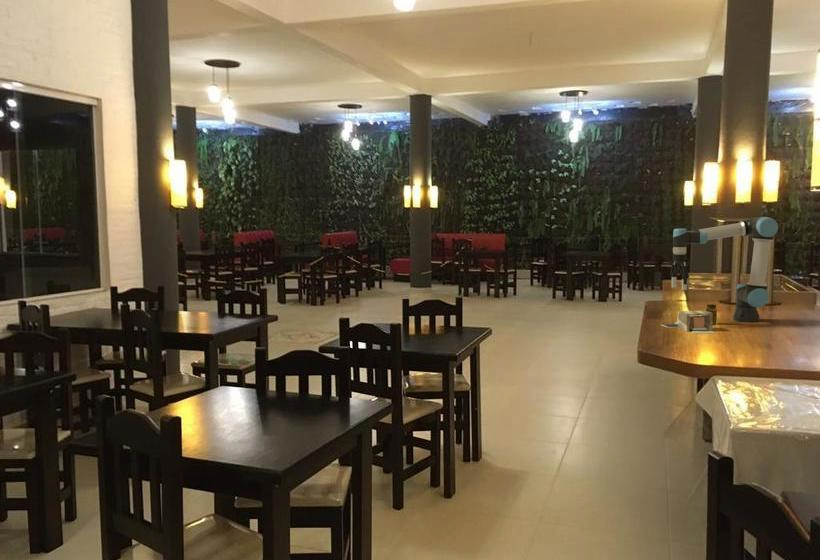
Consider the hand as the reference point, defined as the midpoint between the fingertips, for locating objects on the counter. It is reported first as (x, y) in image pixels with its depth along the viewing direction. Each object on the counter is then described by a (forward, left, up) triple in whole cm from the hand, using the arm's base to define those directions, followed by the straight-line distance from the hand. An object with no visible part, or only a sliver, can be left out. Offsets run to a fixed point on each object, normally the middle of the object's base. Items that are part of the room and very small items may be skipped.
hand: (679, 288), depth 422 cm
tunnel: (-1, +20, -22) cm, 30 cm away
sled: (-1, +14, -21) cm, 26 cm away
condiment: (-18, +3, -22) cm, 29 cm away
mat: (-1, +30, -22) cm, 37 cm away
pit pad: (+3, +6, -22) cm, 23 cm away
